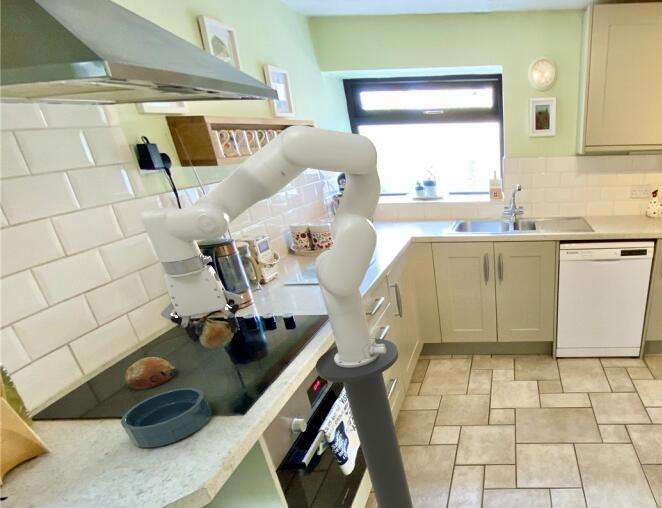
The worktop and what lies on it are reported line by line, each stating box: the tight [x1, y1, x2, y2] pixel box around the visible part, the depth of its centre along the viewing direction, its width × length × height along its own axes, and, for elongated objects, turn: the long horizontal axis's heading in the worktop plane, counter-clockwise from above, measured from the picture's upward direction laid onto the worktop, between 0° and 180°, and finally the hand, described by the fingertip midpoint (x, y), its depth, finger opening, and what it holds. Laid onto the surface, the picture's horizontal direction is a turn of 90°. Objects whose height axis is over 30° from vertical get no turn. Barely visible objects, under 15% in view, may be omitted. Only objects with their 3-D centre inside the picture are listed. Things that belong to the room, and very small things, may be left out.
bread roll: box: [124, 356, 176, 390], centre depth 111 cm, size 10×10×8 cm
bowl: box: [120, 387, 213, 448], centre depth 92 cm, size 15×15×6 cm
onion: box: [192, 315, 235, 350], centre depth 101 cm, size 8×8×8 cm
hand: (216, 334), depth 101 cm, fingers closed on onion, 7 cm apart
